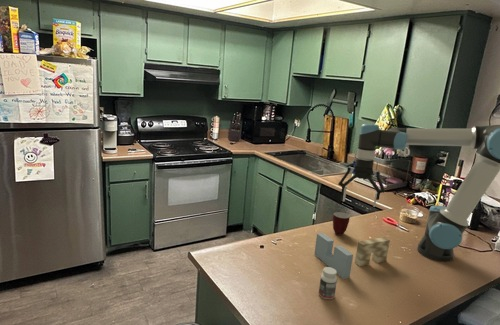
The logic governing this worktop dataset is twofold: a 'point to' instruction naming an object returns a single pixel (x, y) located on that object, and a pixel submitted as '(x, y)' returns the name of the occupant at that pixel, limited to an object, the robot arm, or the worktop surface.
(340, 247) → the slate notched block
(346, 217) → the mug
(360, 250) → the beige flat block
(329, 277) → the pill bottle
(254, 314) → the worktop surface
